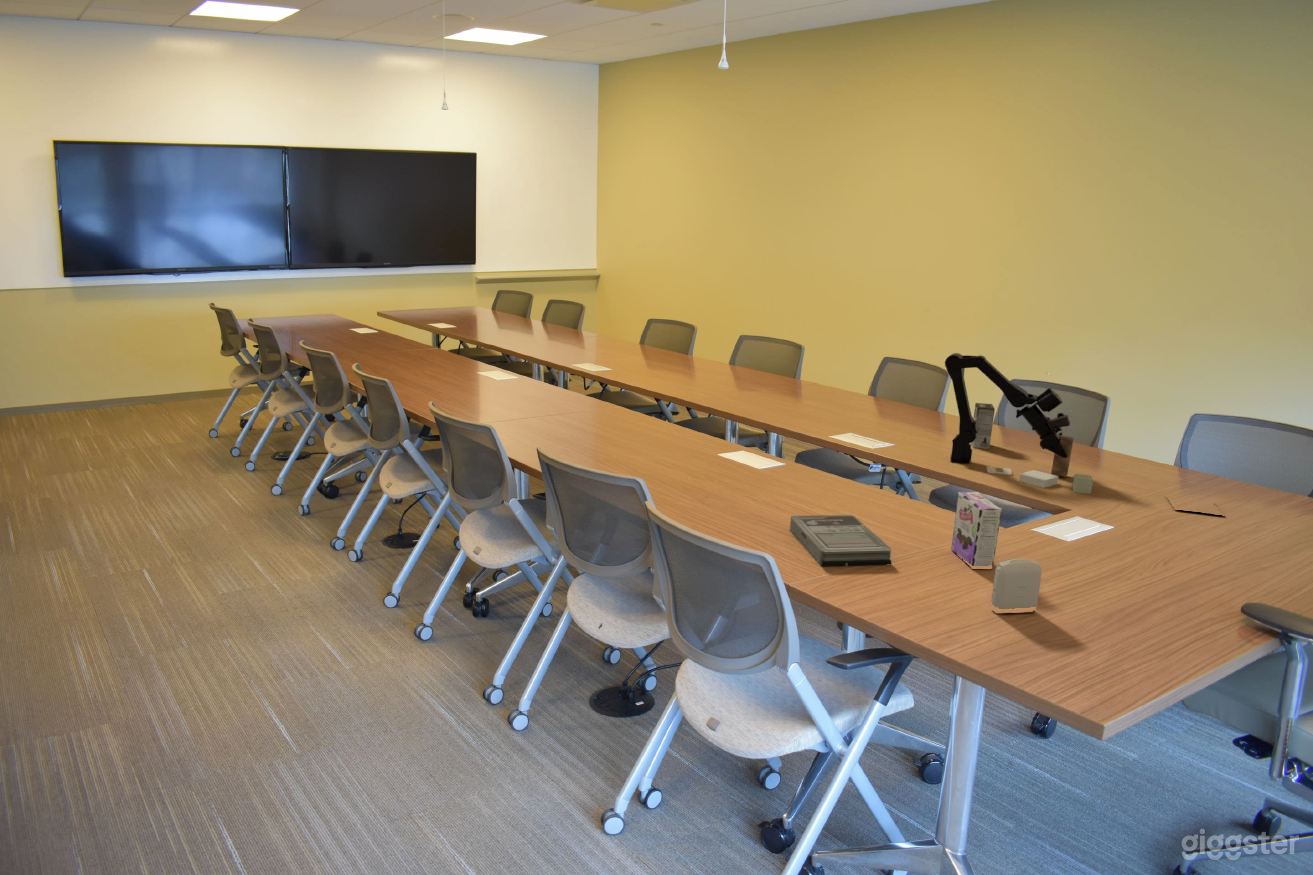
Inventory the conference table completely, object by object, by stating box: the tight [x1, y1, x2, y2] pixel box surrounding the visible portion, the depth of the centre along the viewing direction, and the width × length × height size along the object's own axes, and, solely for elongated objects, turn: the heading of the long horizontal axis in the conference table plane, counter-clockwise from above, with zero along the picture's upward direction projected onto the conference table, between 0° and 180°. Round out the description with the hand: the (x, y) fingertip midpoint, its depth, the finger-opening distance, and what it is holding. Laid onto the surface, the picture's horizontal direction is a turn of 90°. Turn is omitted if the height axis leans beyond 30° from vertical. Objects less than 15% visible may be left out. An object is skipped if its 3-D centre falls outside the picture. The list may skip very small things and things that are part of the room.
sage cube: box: [1071, 473, 1094, 495], centre depth 302 cm, size 5×5×5 cm
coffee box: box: [970, 402, 996, 450], centre depth 356 cm, size 9×6×16 cm
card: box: [986, 466, 1013, 476], centre depth 322 cm, size 8×6×1 cm
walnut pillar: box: [1050, 435, 1075, 478], centre depth 318 cm, size 5×5×13 cm
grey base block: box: [1018, 469, 1060, 489], centre depth 310 cm, size 9×9×3 cm
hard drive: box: [789, 514, 892, 568], centre depth 243 cm, size 18×27×4 cm
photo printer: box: [990, 558, 1042, 609], centre depth 206 cm, size 10×4×12 cm, turn 100°
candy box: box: [950, 491, 1003, 566], centre depth 236 cm, size 14×6×16 cm, turn 5°
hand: (1066, 455), depth 317 cm, fingers closed on walnut pillar, 5 cm apart
